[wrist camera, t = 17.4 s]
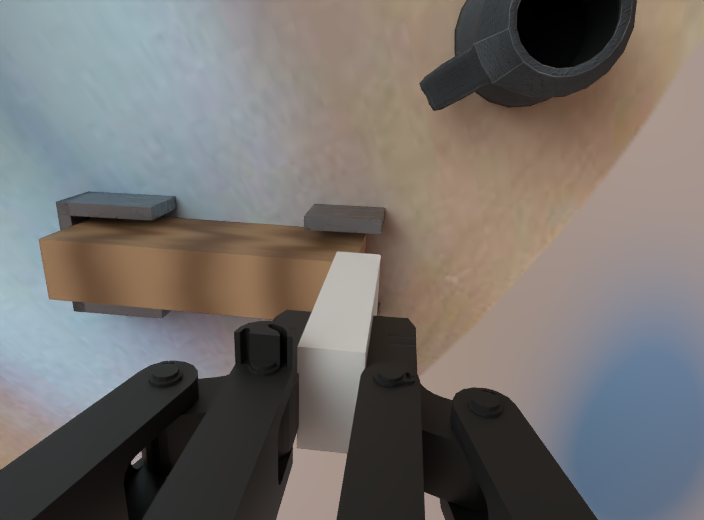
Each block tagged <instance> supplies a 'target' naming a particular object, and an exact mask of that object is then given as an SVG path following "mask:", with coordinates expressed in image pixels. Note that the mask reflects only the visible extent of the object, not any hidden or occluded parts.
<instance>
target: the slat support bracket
mask: <svg viewBox="0 0 704 520" xmlns="http://www.w3.org/2000/svg"><path fill="white" fill-rule="evenodd" d="M56 206H57V212H58V218H59V224H60V230H63V229H66V228H68V227H71V226H73V225H76V224H78V223H81V222H83V221H86V220H89V219H91V218H94V217H101V218H118V219H135V220H151V221H152V220H154V219H156V218H158V217H160V216H162V215H164V214H166V213H168V212H170V211H172V210H174V209H176V200H175V196H159V195H141V194H122V193H104V192H86V193H83V194H79V195H76V196H73V197H70V198H67V199H64V200H60V201H57V202H56ZM72 302H73V308H74V311H78V312H90V313H102V314H115V315H127V316H139V317H151V318H163V317H164V316H165V315H167V314H168V313H169V312H170V311H171V310H164V309H153V308H141V307H130V306H119V305H108V304H97V303H86V302H75V301H72Z"/></svg>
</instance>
